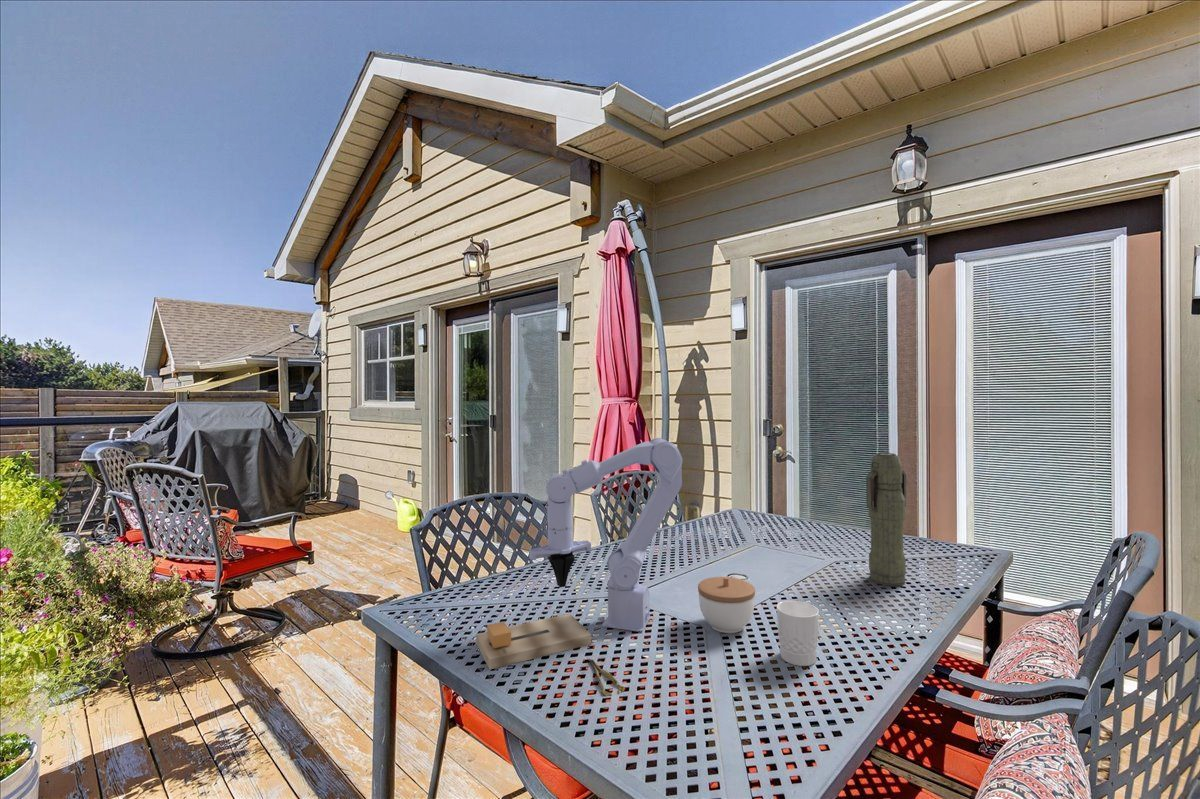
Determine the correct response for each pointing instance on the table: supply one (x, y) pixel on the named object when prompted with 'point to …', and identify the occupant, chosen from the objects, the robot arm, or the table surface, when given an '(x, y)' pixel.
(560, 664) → the table surface
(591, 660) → the tongs
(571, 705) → the table surface
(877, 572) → the olive green statue
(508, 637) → the fader knob
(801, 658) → the white cup
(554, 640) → the fader panel
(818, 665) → the table surface
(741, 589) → the lidded bowl
